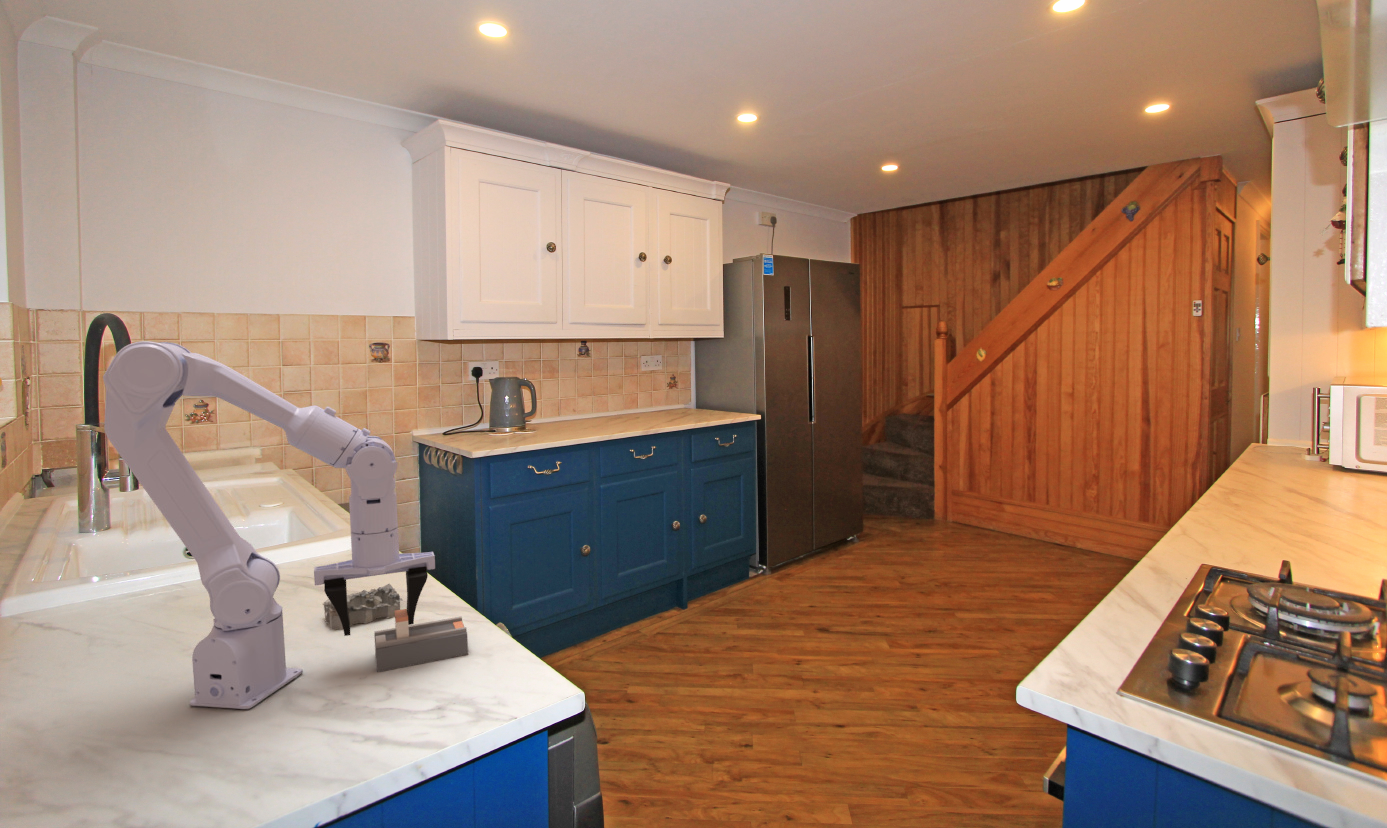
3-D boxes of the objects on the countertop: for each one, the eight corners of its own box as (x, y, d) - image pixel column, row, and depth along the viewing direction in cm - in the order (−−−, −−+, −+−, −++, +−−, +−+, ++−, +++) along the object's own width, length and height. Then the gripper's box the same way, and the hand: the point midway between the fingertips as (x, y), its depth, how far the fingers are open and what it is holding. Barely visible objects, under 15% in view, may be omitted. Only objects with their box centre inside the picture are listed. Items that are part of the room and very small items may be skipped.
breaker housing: (376, 672, 89) (375, 646, 89) (375, 653, 94) (374, 629, 94) (468, 654, 94) (467, 629, 94) (461, 637, 100) (460, 614, 99)
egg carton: (330, 634, 102) (328, 608, 101) (322, 618, 108) (320, 593, 108) (404, 617, 108) (403, 592, 108) (393, 602, 114) (392, 579, 114)
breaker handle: (396, 639, 91) (395, 618, 91) (395, 631, 94) (394, 610, 94) (408, 637, 92) (408, 616, 92) (407, 629, 95) (406, 608, 94)
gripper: (310, 543, 83) (316, 649, 85) (435, 529, 90) (439, 627, 91) (313, 529, 90) (319, 628, 91) (430, 517, 96) (434, 609, 98)
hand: (379, 627), depth 92 cm, fingers open, 7 cm apart
